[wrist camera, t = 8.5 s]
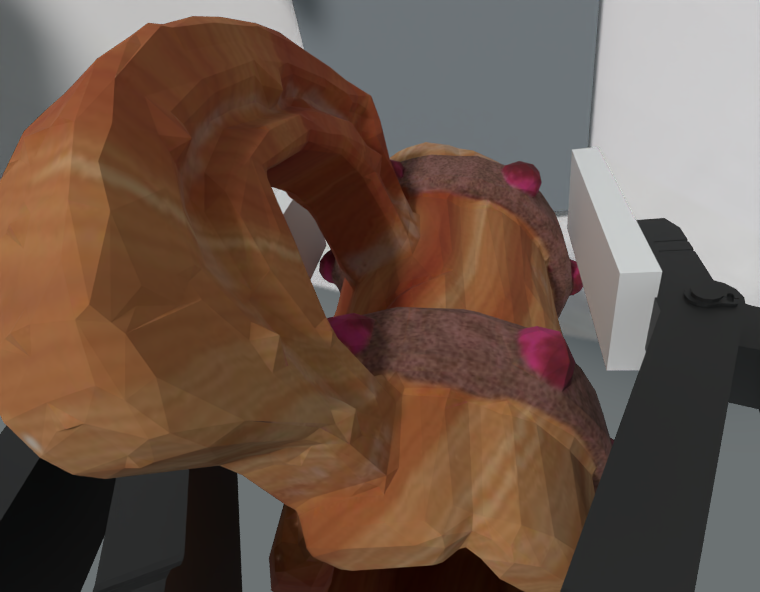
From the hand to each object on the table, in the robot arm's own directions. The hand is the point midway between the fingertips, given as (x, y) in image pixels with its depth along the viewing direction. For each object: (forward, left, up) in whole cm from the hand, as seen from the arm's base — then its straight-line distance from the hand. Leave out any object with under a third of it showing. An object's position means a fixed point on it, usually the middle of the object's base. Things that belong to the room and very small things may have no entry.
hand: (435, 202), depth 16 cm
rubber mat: (0, 0, -12) cm, 12 cm away
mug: (-1, 0, -3) cm, 3 cm away
